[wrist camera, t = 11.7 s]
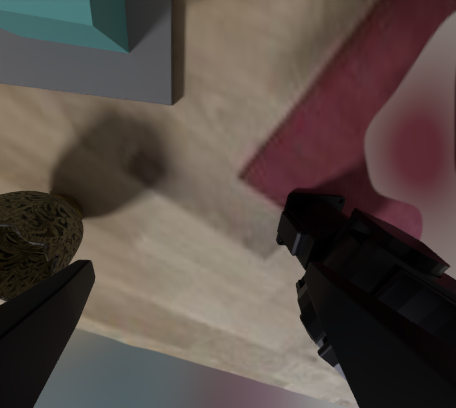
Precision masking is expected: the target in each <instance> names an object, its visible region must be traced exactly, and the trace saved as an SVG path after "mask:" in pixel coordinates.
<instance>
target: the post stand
mask: <svg viewBox="0 0 456 408" xmlns="http://www.w3.org/2000/svg"><path fill="white" fill-rule="evenodd" d="M125 11H126V23H127V35H128V46H129V53H123V52H117V51H110V50H104V49H98V48H91V47H85V46H78V45H72V44H66V43H59V42H53V41H46V40H40V39H34V38H27V37H21V36H19V35H16V34H14V33H11V32H9V31H6V30H4V29H1V28H0V83H2V84H10V85H17V86H25V87H33V88H41V89H48V90H56V91H64V92H72V93H80V94H87V95H95V96H103V97H111V98H118V99H126V100H134V101H142V102H150V103H157V104H165V105H173V0H125Z"/></svg>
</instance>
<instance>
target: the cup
mask: <svg viewBox="0 0 456 408" xmlns="http://www.w3.org/2000/svg"><path fill="white" fill-rule="evenodd" d="M82 238H83V223H82V209H81V207H80V205H79V204H78V203H77V202H76V201H75V200H74V199H73V198H71V197H69V196H66V195H63V194H48V193H43V192H38V191H18V192H11V193H6V194H1V195H0V299H2V298H3V299H2V300H4V301H8V300H10V299H12V298H13V297H15V296H17V295H19V294H20V293H22V292H24V291H25V290H27V289H29V288H31V287H32V286H34V285H36V284H37V283H39V282H41V281H43V280H44V279H46V278H48V277H50V276H51V275H53V274H55V273H56V272H58V271H60V270H62V269H63V268H65V267H67V266H68V265H69V263H70V262H71V260H72V258H73V257H74V255H75V254H76V252H77V250H78V248H79V246H80V244H81V241H82Z"/></svg>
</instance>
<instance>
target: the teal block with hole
mask: <svg viewBox="0 0 456 408" xmlns="http://www.w3.org/2000/svg"><path fill="white" fill-rule="evenodd" d="M0 28H1V29H4V30H6V31H9V32H11V33H14V34H16V35H19V36H21V37H27V38H34V39H40V40H46V41H53V42H59V43H66V44H72V45H78V46H85V47H91V48H98V49H104V50H110V51H117V52H123V53H129V46H128V35H127V23H126V11H125V0H0Z"/></svg>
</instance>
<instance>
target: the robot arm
mask: <svg viewBox="0 0 456 408" xmlns="http://www.w3.org/2000/svg"><path fill="white" fill-rule="evenodd" d="M293 196H294V198H293V199H291V198H292V197H293ZM340 199H341V200H340ZM339 200H340V201H339ZM344 203H345V198H344V197H342V196H338V195H323V194H308V193H290V194H289V195H288V197H287V201H286V205H285V208H284V211H283V212H282V214H281V218H280V222H279V226H278V230H277V232H278V235H277V238H276V242H277V243H278V245H286V246H287V248H288V250H289V251H290V253H291V254H292V255H293V256H296V257H297V258H298V260H299V262H300V263H301V265H302V266H303V268H304V269H305V270H306V272H305V275H304V276H303V277H302V279H301V280H298V282H297V283H296V289H297V294H298V304H299V307H300V310H301V315H300V319H301V322H302V324H303V325H304V327H305V329H306V331H307V333H308V334H309V336H310V337H311V339H312V340H313V341H314V342H315V344H316V345H317V346H318V347H319V348H320V349H319V350H318V354H319V356H320V357H321V358H323V359H324V360H325V361H326V362H328V363H329V364H330V365H331V366H333V367H334V368H335V369H336V370H337V371H338V372H339V373H340V374H341V375H342V377H343V378H344V379H345V380H346V381H347V382H348V384H349V386H350V388H351V391H352V393H353V395H354V397H355V399H356V402H357V404H358V406H359V408H456V280H455V279H454V278H452V277H450V276H449V275H447V274H445V273H444V272H445V271H446V270H447V269H448V268H449V267H450V265H449V264H448V263H446V262H445V261H444V260H443V259H442V258H440V257H439V256H438V255H437V254H436V253H435V252H433V251H432V250H431V249H430V248H429V247H427V246H426V245H425V244H424V243H423V242H421V241H420V240H418V239H416V238H414V237H413V236H411V235H409V234H407V233H406V232H404V231H402V230H401V229H399V228H397V227H395V226H393V225H391V224H389V223H387V222H385V221H383V220H381V219H378V218H376V217H374V216H372V215H370V214H368V213H366V212H363V211H361V210H359V209H357V208H355V209H354V210H353V212H352V213H351V214H352V215H351V216H350V218H349V217H348V216H346V215H345V214H344V213H342V212H341V210H342V208H343V206H344ZM280 240H282V241H280ZM94 281H95V273H94V268H93V264H92V261H91V260H77V261H75V262H74V263H72V264H70V265H68V266H67V267H65V268H63V269H62V270H60V271H58V272H56V273H55V274H53V275H51V276H50V277H48V278H46V279H44V280H43V281H41V282H39V283H37V284H36V285H34V286H32V287H31V288H29V289H27V290H25V291H24V292H22V293H20V294H19V295H17V296H15V297H13V298H12V299H10V300H8V301H7V302H5V303H3V304H1V305H0V408H33V407H34V405H35V403H36V401H37V399H38V397H39V395H40V393H41V391H42V390H43V388H44V386H45V384H46V382H47V380H48V378H49V377H50V375H51V372H52V371H53V369H54V367H55V365H56V363H57V361H58V360H59V357H60V356H61V354H62V352H63V350H64V348H65V346H66V344H67V342H68V341H69V339H70V337H71V335H72V333H73V331H74V329H75V327H76V325H77V323H78V321H79V319H80V316H81V314H82V311H83V309H84V306H85V304H86V301H87V299H88V297H89V294H90V292H91V289H92V287H93V284H94Z"/></svg>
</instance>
